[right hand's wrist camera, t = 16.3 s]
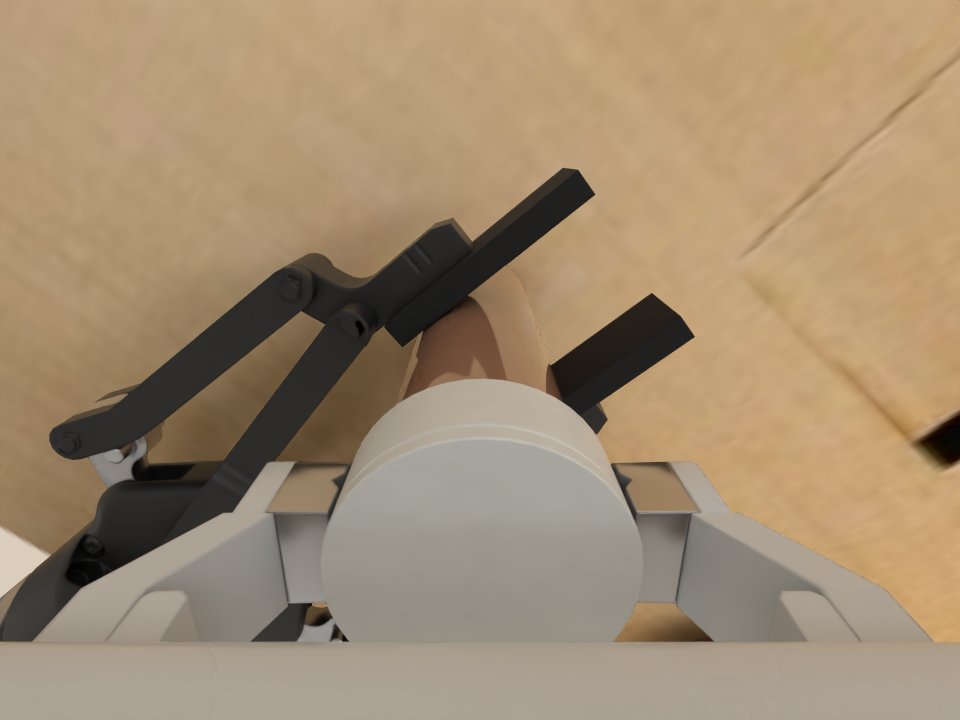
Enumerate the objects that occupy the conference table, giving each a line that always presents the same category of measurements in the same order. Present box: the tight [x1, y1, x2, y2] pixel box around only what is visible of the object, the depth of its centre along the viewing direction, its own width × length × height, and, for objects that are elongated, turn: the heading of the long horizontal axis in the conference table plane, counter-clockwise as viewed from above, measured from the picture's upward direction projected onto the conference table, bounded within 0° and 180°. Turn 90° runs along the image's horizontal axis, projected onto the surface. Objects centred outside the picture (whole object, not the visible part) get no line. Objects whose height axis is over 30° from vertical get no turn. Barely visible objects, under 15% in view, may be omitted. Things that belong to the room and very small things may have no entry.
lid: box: [320, 379, 644, 642], centre depth 9 cm, size 5×5×2 cm
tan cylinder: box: [395, 265, 564, 406], centre depth 16 cm, size 4×4×15 cm
